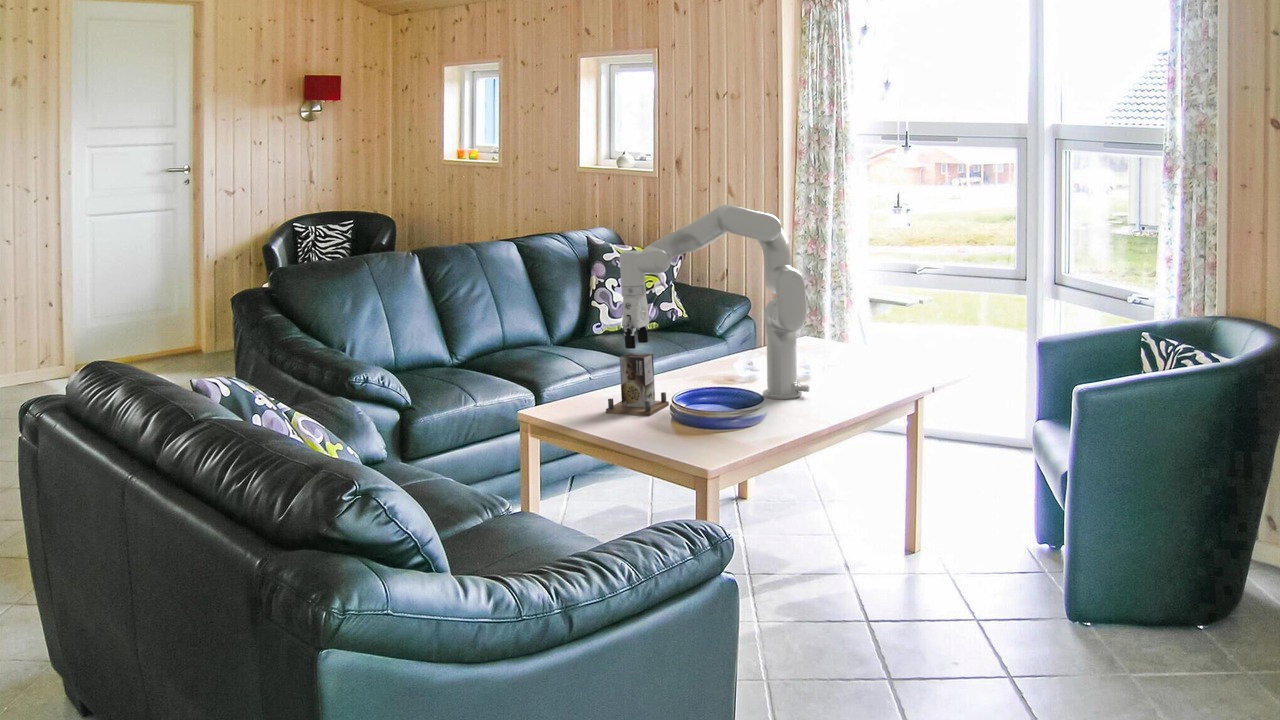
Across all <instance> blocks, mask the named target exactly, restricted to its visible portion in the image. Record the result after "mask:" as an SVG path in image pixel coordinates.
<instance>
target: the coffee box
mask: <svg viewBox="0 0 1280 720" xmlns="http://www.w3.org/2000/svg"><path fill="white" fill-rule="evenodd" d="M618 358H619V370H620V371H619V372H620V373H619V374H620V377H619V378H620V388H621V389H620V392H621V394H620V395H621V401H622V406H628V407H642V408H645V401H650V404H651V406H652V405H654V404H655V401H656V397H655V396H656V395H655V394H656V392H655V390H656V389H655V369H654V367H655V366H654V365H655V364H654V353H639V352H638V353H637V352H627V353H624V354H623V355H620V356H619V357H618Z"/></svg>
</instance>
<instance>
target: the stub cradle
mask: <svg viewBox="0 0 1280 720" xmlns="http://www.w3.org/2000/svg"><path fill="white" fill-rule="evenodd" d="M660 399H661V400H655V404H654V405H652V406H651V404H650V401H645V408H642V407H628V406H622V400H620V401H619V402H617V403H615V404H614V398H607V403H608V404H607V405H608V406H607V408H606V409H605V413H606V414H615V415H616V414H617V415H630V416H631V415H633V416H645V417H646V416H647V417H651V416H652V415H654V414H656V413H658V412H660V411H662V410H663V409H664V408H666V407H668V406H669V405H670V401H667V392H664V391H663V392H660Z"/></svg>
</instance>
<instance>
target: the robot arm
mask: <svg viewBox="0 0 1280 720" xmlns="http://www.w3.org/2000/svg"><path fill="white" fill-rule="evenodd" d="M727 234H734V235H737V236H740V237H745V238H748V239H752V240H756V241H757V242H758V243H759V245H760V247H761V249H762V253H763V262H764V277H765V278H764V283H765V287H766V289H767V290H768V291H769V292H770V293H771V294H774V295H776V298H773V299H771V300H770V301H769V302H768V303H766V306H765V308H764V313H763V320H764V327H765V334H766V335H765V336H766V376H767V378H766V382H767V383H766V384H767V389H764V390H763V391H762V396H763V397H764V398H767V399H771V400H772V399H773V400H788V399H789V400H791V399H796V398H800V397H801V396H802V395H803V394H802V393H804V392H805V393H808V392H809V393H810V390H811V389H810V385H808V384H801V383H800V380H797V379H798V373H797V372H798V370H797V369H798V368H797V364H798V363H797V335H796V334H797V333H796V332H797V331H800V330H801V329H802V328H803V326H804V325H805V323H806V321H807V298H806V297H807V296H806V295H807V294H806V285H805V284H806V283H805V280H804V277H803V275H802V273H801V272H800V271H799V270H798V269H796V268H794V267H793V265H792V256H791V247H790V242H789V240H788V237H787V235H786V232H784V230H783V228H782V223H781V222H780V219H778V217H777V216H775V215H774V214H771V213H765V212H762V211H758V210H757V211H756V210H751V209H748V208H745V207H742V206H738V205H734V204H723V205H719V206H718V207H715V209H712V210H711V211H709V212H707V213H705V214H704V215H703V216H701V217H699V218H697V219H696V220H694V221H692V222H691V223H689V224H688V225H686V226H684V227H681V228H679V229H677V230H674V231H672V232H671V233H668V234H667V235H664V236H662V237H661V238H659V239H657V240H655V241H654V242H652V243H651V244H649V245H647V246H646V247H645V248H643V250H642V251H641V250H624V251H622V252H620V254H619V269H620V271H619V272H620V286H621V288H620V289H621V297H623V299H622V324H621V325H622V329H623V331H622V332H623V336H624V345H625V346H624V347H625V349H628V350H630V349H631V350H634V349H636V335H635V330H636V329H637V343H643V344H644V343H645V344H646V343H648V342H649V337H648V336H649V334H648V329H649V326H648V325H649V324H650V314H649V313H650V312H649V305H648V300H647V291H646V290H647V287H646V286H647V285H646V274H656V275H657V274H662V273H665V272H667V271H668V270H669V268H670V267H671V264H672V259H674V258H676V257H678V256H681V255H683V254H686V253H691V252H697V251H700V250H702V249H704V248H705V247H707V246H709V245H710V244H712V243H714V242H715V241H717V240H719V239H720V238H722V237H723V236H725V235H727Z"/></svg>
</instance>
